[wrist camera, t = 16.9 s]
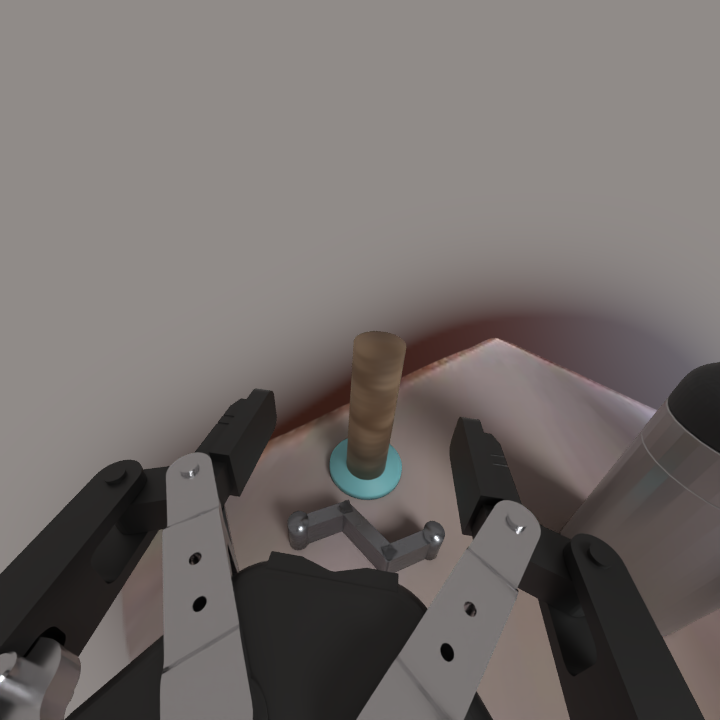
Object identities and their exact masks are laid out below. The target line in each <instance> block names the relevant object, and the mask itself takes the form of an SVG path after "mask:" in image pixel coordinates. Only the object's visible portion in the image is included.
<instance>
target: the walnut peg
mask: <svg viewBox="0 0 720 720" xmlns="http://www.w3.org/2000/svg"><path fill="white" fill-rule="evenodd" d="M405 351H406V344H405V342H404V341H403V340H402V339H401V338H400V337H398V336H396V335H394V334H391V333H387V332H380V331H370V332H365V333H362V334H360V335H358V336H357V337H356V338H355V339H354V348H353V363H352V380H351V396H350V411H349V428H348V444H347V460H346V464H347V468H348V470H349V472H350V473H351V474H352V475H353V476H355V477H357V478H359V479H362V480H373V479H376V478H378V477H379V476H381V475H382V474H383V472H384V470H385V467H386V461H387V456H388V450H389V444H390V438H391V432H392V427H393V421H394V415H395V409H396V403H397V398H398V392H399V386H400V380H401V373H402V368H403V362H404V356H405Z"/></svg>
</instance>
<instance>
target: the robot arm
mask: <svg viewBox="0 0 720 720" xmlns="http://www.w3.org/2000/svg"><path fill="white" fill-rule="evenodd" d="M276 418H277V417H276V408H275V400H274V393H273V391H270V390H262V389H254V390H253V391H252V392H251V394H250V395H249V397H248V398H247V399H240V400H238V401H237V402H235V403H234V404H233V405H231V406H230V407H229V409H228V410H227V411H226V412H225V414H224V416H222V417H221V419H220V420H219V421H218V424H216V425H215V427H214V428H213V429H212V431H211V432H210V433H209V434H208V436H207V437H206V438H205V440H204V441H203V442H202V444H201V445H200V446H199V448H198V449H197V450H196V451H195V452H194V453H190V454H187V455H184V456H182V457H180V458H179V459H177V460H176V461H174V462H173V464H171V466H168V467H161V468H152V469H144V470H143V468H142V466H141V465H140V463H139V462H137V461H135V460H123V461H119V462H116V463H113V464H111V465H109V466H107V467H105V468H104V469H102V470H101V471H100V472H98V474H96V475H95V476H94V477H93V479H91V480H90V482H89V483H88V484H87V485H86V486H85V487H84V488H83V489H82V490H81V491H80V492H79V493H78V494H77V495H76V496H75V497H74V498H73V499H72V500H71V501H70V502H69V504H67V505H66V506H65V507H64V509H63V510H62V511H61V512H60V513H59V514H58V515H57V516H56V517H55V518H54V519H53V520H52V521H51V522H50V523H49V524H48V525H47V526H46V527H45V528H44V530H42V531H41V532H40V533H39V535H38V536H37V537H36V538H35V539H34V540H33V541H32V542H31V543H30V544H29V545H28V546H27V547H26V548H25V549H24V550H23V551H22V552H21V553H20V554H19V555H18V556H17V557H16V558H15V559H14V560H13V561H12V562H11V564H10V565H9V566H8V567H7V568H6V569H5V570H4V571H3V572H2V573H1V574H0V720H64V714H65V710H66V707H67V705H68V704H69V702H70V701H71V699H72V696H73V694H74V689H75V687H76V685H77V682H78V680H79V676H80V671H81V663H80V660H79V658H78V656H79V655H80V653H81V652H82V650H83V648H84V647H85V645H86V644H87V642H88V641H89V639H90V637H91V636H92V634H93V633H94V631H95V630H96V628H97V626H98V625H99V623H100V622H101V620H102V618H103V617H104V615H105V614H106V612H107V611H108V609H109V608H110V606H111V604H112V603H113V601H114V600H115V598H116V596H117V595H118V593H119V592H120V590H121V589H122V587H123V586H124V584H125V582H126V581H127V579H128V578H129V576H130V575H131V573H132V571H133V570H134V568H135V567H136V565H137V564H138V562H139V560H140V559H141V557H142V556H143V554H144V553H145V551H146V549H147V548H148V546H149V545H150V543H151V541H152V540H153V538H154V537H155V535H156V534H157V532H158V530H160V529H163V532H162V564H163V625H164V635H162V636H161V637H160V638H159V639H158V640H157V641H155V642H154V643H153V644H152V645H151V646H150V647H148V648H147V649H146V650H145V651H144V652H142V653H141V654H140V655H139V656H138V657H137V658H135V659H134V660H133V661H132V662H131V663H130V664H128V665H127V666H126V667H125V668H124V669H123V670H121V671H120V672H119V673H118V674H117V675H116V676H114V677H113V678H112V679H111V680H110V681H108V682H107V683H106V684H105V685H104V686H103V687H101V688H100V689H99V690H98V691H97V692H96V693H94V694H93V695H92V696H91V697H90V698H88V699H87V700H86V701H85V702H84V703H83V704H81V705H80V706H79V707H78V708H77V709H76V710H74V711H73V712H72V713H71V714H70V715H69V716H68V717H67V718H66V719H65V720H493V719H492V717H491V715H490V714H489V712H488V710H487V709H486V707H485V705H484V703H483V702H482V700H481V698H480V696H479V695H478V693H477V688H478V686H479V684H480V681H481V679H482V677H483V674H484V672H485V670H486V667H487V665H488V663H489V661H490V658H491V656H492V654H493V651H494V649H495V647H496V644H497V642H498V640H499V638H500V635H501V633H502V631H503V628H504V626H505V624H506V621H507V619H508V617H509V614H510V612H511V610H512V608H513V605H514V603H515V601H516V598H517V595H518V590H517V588H519V589H521V590H523V591H525V592H527V593H529V594H530V595H532V596H534V597H536V598H538V601H539V605H540V608H541V612H542V616H543V620H544V623H545V627H546V631H547V635H548V638H549V642H550V646H551V650H552V653H553V657H554V661H555V665H556V668H557V672H558V676H559V680H560V683H561V687H562V691H563V695H564V698H565V702H566V706H567V710H568V713H569V717H570V720H705V719H704V717H703V715H702V713H701V711H700V709H699V707H698V705H697V703H696V701H695V699H694V697H693V696H692V694H691V692H690V690H689V688H688V686H687V684H686V682H685V680H684V678H683V676H682V674H681V672H680V670H679V668H678V666H677V665H676V663H675V661H674V659H673V657H672V655H671V653H670V651H669V649H668V647H667V645H666V643H665V641H664V639H663V637H662V636H667V635H669V634H672V633H675V632H676V631H678V630H680V629H682V628H684V627H686V626H687V625H689V624H691V623H693V622H695V621H697V620H698V619H700V618H702V617H704V616H706V615H708V614H710V613H712V612H714V611H716V610H717V609H719V608H720V362H718V363H711V364H707V365H703V366H700V367H698V368H696V369H694V370H693V371H691V372H690V373H689V374H687V375H686V376H685V377H684V379H683V380H682V381H681V382H680V383H679V384H678V386H677V387H676V388H675V389H674V391H673V392H672V393H671V395H670V396H669V397H668V398H667V399H666V401H665V402H664V403H663V404H662V405H661V407H660V408H659V409H658V410H657V412H656V413H655V414H654V415H653V417H652V418H651V419H650V420H649V422H648V423H647V424H646V425H645V427H644V428H643V429H642V431H641V432H640V433H639V434H638V436H637V437H636V438H635V439H634V441H633V442H632V443H631V444H630V446H629V447H628V448H627V449H626V451H625V452H624V453H623V454H622V455H621V457H620V458H619V459H618V460H617V462H616V463H615V464H614V465H613V467H612V468H611V469H610V470H609V472H608V473H607V474H606V475H605V477H604V478H603V479H602V480H601V482H600V483H599V484H598V485H597V487H596V488H595V489H594V490H593V491H592V493H591V494H590V495H589V496H588V498H587V499H586V500H585V501H584V503H583V504H582V505H581V506H580V507H579V509H578V510H577V511H576V512H575V514H574V515H573V516H572V518H571V519H570V520H569V521H568V523H567V524H566V525H565V526H564V528H563V529H562V530H561V534H558V533H556V532H554V531H552V530H549V529H547V528H545V527H543V526H542V525H540V524H539V523H538V521H537V519H536V518H535V516H534V515H533V514H532V513H531V512H530V511H529V510H528V509H527V508H526V507H524V506H523V505H522V504H521V501H520V498H519V496H518V493H517V490H516V487H515V484H514V482H513V479H512V476H511V473H510V470H509V468H508V467H507V462H506V459H505V458H504V454H503V451H502V448H501V445H500V444H499V442H498V441H497V440H496V439H495V438H494V436H493V435H492V434H488V433H484V432H483V429H482V425H481V422H480V420H478V419H471V418H464V417H460V418H459V419H458V422H457V425H456V428H455V431H454V434H453V437H452V440H451V444H450V461H451V467H452V474H453V480H454V486H455V492H456V498H457V505H458V511H459V517H460V523H461V529H462V534H463V535H469V536H472V537H473V541H472V543H471V544H470V546H469V547H468V548H467V549H466V551H465V552H464V554H463V555H462V557H461V558H460V560H459V561H458V563H457V564H456V566H455V568H454V569H453V571H452V572H451V574H450V575H449V577H448V579H447V580H446V582H445V583H444V585H443V586H442V588H441V589H440V591H439V593H438V594H437V596H436V597H435V599H434V600H433V602H432V604H431V605H430V607H429V608H428V609H427V608H426V606H425V605H424V604H423V603H422V602H421V601H420V599H419V598H418V597H416V596H415V595H414V594H413V593H412V592H411V591H409V590H408V589H406V588H405V587H403V586H401V585H399V584H398V573H392V572H387V571H381V570H375V569H370V568H362V569H353V570H345V571H337V572H333V571H329V570H327V569H325V568H323V567H321V566H320V565H318V564H316V563H314V562H312V561H310V560H308V559H306V558H304V557H302V556H297V555H291V554H285V553H280V552H274V551H272V552H271V555H270V557H269V560H268V561H264V562H260V563H257V564H254V565H251V566H249V567H247V568H245V569H243V570H241V571H239V568H238V564H237V560H236V556H235V552H234V547H233V542H232V537H231V532H230V527H229V522H228V517H227V512H226V507H225V502H226V501H227V499H228V497H229V495H233V496H239V497H240V495H241V493H242V491H243V489H244V487H245V485H246V483H247V481H248V479H249V477H250V476H251V474H252V472H253V470H254V468H255V466H256V464H257V462H258V460H259V458H260V456H261V454H262V452H263V450H264V449H265V447H266V445H267V443H268V441H269V439H270V437H271V435H272V433H273V431H274V429H275V425H276Z"/></svg>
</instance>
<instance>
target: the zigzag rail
mask: <svg viewBox="0 0 720 720" xmlns="http://www.w3.org/2000/svg"><path fill="white" fill-rule="evenodd" d="M288 531H289V539H290V545H291V547H292V548H293V549H295V550H302V549H304V548H305V547H306V546H307V545H308V544H309V543H311V542H314V541H317V540H319V539H322V538H325V537H328V536H330V535H333V534H336V533H338V532H341V531H343V532H344V533H345V535H346V536H347V537H348V538H349V539H350V540H351V541H352V542H353V543H354V544H355V545H356V546H357V548H358V549H359V550H360V551H361V552H362V553H363V554H364V555H365V556H366V557H367V558H368V560H369V561H370V562H371V563H372V564H373V565H374V566H375V567H376V568H377V569H378V570H381V571H387V572H392V573H395V572H397V571H399V570H402V569H404V568H406V567H408V566H410V565H413V564H415V563H417V562H419V561H421V560H424V559H426V560H433V559H434V558H436V556H437V554H438V551H439V549H440V546H441V544H442V542H443V539H444V537H445V531H444V529H443V527H442V526H441V525H440V524H439V523H437V522H435V521H429V522H427V523H426V524H425V526H424V529H423V530H422V531H419V532H417V533H414V534H412V535H410V536H407V537H405V538H402V539H400V540H397V541H395V542H393V543H389V542H388V541H387V540H386V539H385V538H384V537H383V536H382V535H381V534H380V533H379V532H378V531H377V530H376V529H375V528H374V527H373V526H372V525H371V524H370V523H369V522H368V521H367V520H366V519H365V518H364V517H363V516H362V515H361V514H360V513H359V512H358V511H357V510H356V509H355V508H354V507H353V506H352V505H351V504H350V501H349V500H345V501H344V502H341V503H338V504H335V505H332V506H329V507H326V508H323V509H320V510H317V511H314V512H311V513H308V514H306V513H305V512H302V511H297V512H294V513H292V514H291V515H290V517H289V519H288Z"/></svg>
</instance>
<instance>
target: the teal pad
mask: <svg viewBox="0 0 720 720" xmlns="http://www.w3.org/2000/svg"><path fill="white" fill-rule="evenodd" d="M347 444H348V438H347V439H345V440H343V441H342V442H341V443H339V444H338V445H337V446H336V447H335V449H334V450H333V452H332V454H331V458H330V474H331V477H332V479H333V481H334V483H335V484H336V486H337V487H338V488H339V489H340V490H341V491H343V492H344V493H345V494H347V495H349V496H351V497H354V498H357V499H363V500H372V499H378V498H381V497H383V496H385V495H387V494H389V493H390V492H391V491H392V490H393V489H394V488H395V487H396V486H397V484H398V482H399V479H400V476H401V471H402V464H401V459H400V457H399V455H398V453H397V451H396V450H395V449H394V448H393V447H392V446H391V445H390V444H389V450H388V456H387V461H386V467H385V470H384V472H383V474H382V475H381V476H379V477H378V478H376V479H373V480H362V479H359V478H357V477H355V476H353V475H352V474H351V473H350V472H349V470H348V468H347V464H346V460H347Z"/></svg>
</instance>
